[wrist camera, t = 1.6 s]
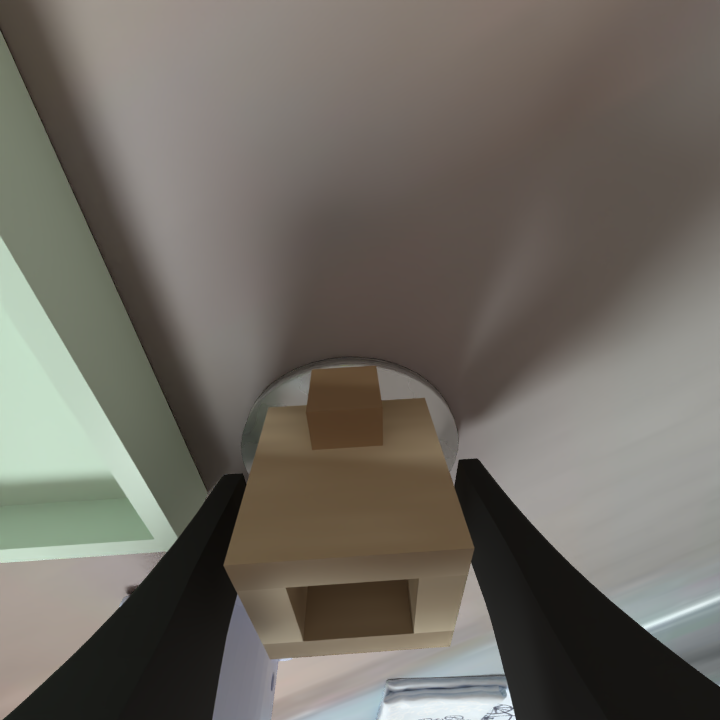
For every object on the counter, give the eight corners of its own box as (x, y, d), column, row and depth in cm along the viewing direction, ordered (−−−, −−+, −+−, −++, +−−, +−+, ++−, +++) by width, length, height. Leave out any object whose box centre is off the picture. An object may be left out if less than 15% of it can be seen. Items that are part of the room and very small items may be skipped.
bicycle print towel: (382, 670, 28) (385, 706, 26) (611, 661, 30) (629, 695, 28) (366, 731, 38) (368, 760, 36) (538, 722, 40) (547, 750, 38)
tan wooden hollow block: (417, 495, 14) (449, 646, 10) (292, 504, 14) (270, 659, 10) (427, 362, 10) (484, 506, 6) (259, 372, 10) (203, 526, 6)
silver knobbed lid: (444, 501, 15) (471, 596, 12) (267, 513, 15) (247, 612, 12) (466, 349, 11) (516, 433, 8) (220, 364, 11) (169, 455, 8)
